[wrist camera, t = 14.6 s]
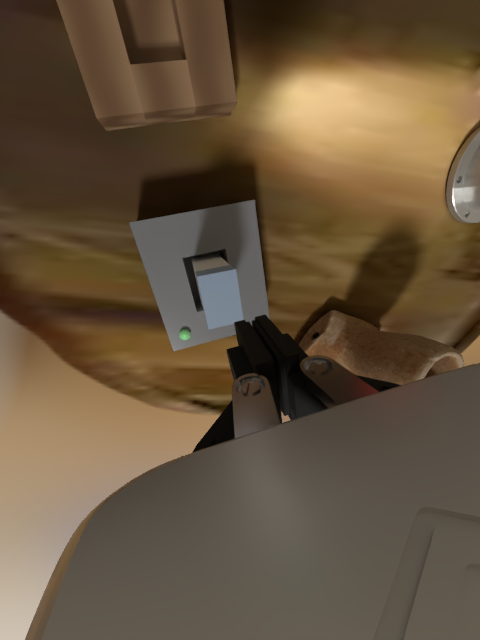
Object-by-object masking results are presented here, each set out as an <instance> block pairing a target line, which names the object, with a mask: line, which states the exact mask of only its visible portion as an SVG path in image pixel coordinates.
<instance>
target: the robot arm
mask: <svg viewBox="0 0 480 640" xmlns="http://www.w3.org/2000/svg"><path fill="white" fill-rule="evenodd" d="M446 199H447V205H448V209H449V211H450V213H451V215H452V216H453V217H454V218H455V219H456V220H458V221H460V222H464V223H478V222H480V127H479V128H477V129H476V130H475V131H474V132H473V133H472V134H471V135H470V136H469V138H468V139H467V140H466V141H465V143H464V144H463V146H462V147H461V149H460V150H459V152H458V154H457V156H456V158H455V160H454V162H453V164H452V167H451V170H450V173H449V176H448V181H447V188H446ZM234 325H235V331H236V336H237V341H238V345H239V346H237V347H234V348H230V349H227V354H228V359H229V363H230V367H231V371H232V375H233V378H234V383H233V385H232V401H231V402H230V404H229V405H228V406H227V407H226V409H225V410H224V411H223V413H222V414H221V415H220V416H219V418H218V419H217V420H216V422H215V423H214V424H213V425H212V426H211V428H210V429H209V430H208V432H207V433H206V434H205V435H204V437H203V438H202V439H201V441H200V442H199V443H198V444H197V446H196V448H195V449H194V451H193V453H191V454H188V455H185V456H182V457H180V458H177V459H174V460H172V461H169V462H166V463H164V464H162V465H160V466H157V467H155V468H153V469H151V470H149V471H147V472H145V473H143V474H142V475H140V476H138V477H136V478H135V479H133V480H131V481H130V482H128V483H127V484H125V485H124V486H122V487H121V488H120V489H118V490H117V491H115V492H114V493H112V494H111V495H110V496H108V497H107V498H106V499H105V500H104V501H102V502H101V503H100V504H99V505H98V506H97V507H96V508H95V509H94V510H92V511H91V512H90V514H89V515H88V516H87V517H86V518H85V519H84V520H83V521H82V522H81V524H80V525H79V527H78V528H77V529H76V531H75V532H74V533H73V535H72V537H71V538H70V540H69V542H68V543H67V545H66V547H65V549H64V551H63V553H62V555H61V557H60V559H59V561H58V563H57V565H56V567H55V569H54V571H53V573H52V576H51V578H50V580H49V582H48V585H47V587H46V589H45V591H44V594H43V596H42V599H41V601H40V604H39V606H38V608H37V611H36V613H35V616H34V618H33V621H32V623H31V625H30V628H29V631H28V633H27V636H26V639H25V640H480V363H478V364H473V365H469V366H465V367H461V368H458V369H454V370H450V371H447V372H443V373H440V374H437V375H433V376H430V377H427V378H424V379H420V380H417V381H414V382H411V383H407V384H404V385H399V384H395V383H391V382H387V381H382V380H377V379H372V378H368V377H363V376H358V375H354V374H353V373H352V372H350V371H349V370H347V369H346V368H344V367H343V366H342V365H340V364H339V363H337V362H336V361H335V360H333V359H331V358H329V357H326V356H322V355H313V356H308V355H307V354H306V353H305V352H304V351H303V350H302V348H301V347H300V346H299V345H298V344H297V343H296V342H295V341H294V340H293V339H292V337H291V336H290V335H289V334H287V333H286V334H282V333H281V332H280V331H279V330H278V328H277V327H276V326H275V325H274V324H273V323H272V321H271V320H270V319H269V318H268V317H267V316H266V315H261V316H257V317H255V320H252V325H251V323H250V322H249V321H248V322H246V321H245V320H241V321H237V322H234ZM281 411H282V413H283V414H284V415H285V416H286V415H289V417H290V419H291V420H290V421H288V422H284V423H282V418H281Z"/></svg>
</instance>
